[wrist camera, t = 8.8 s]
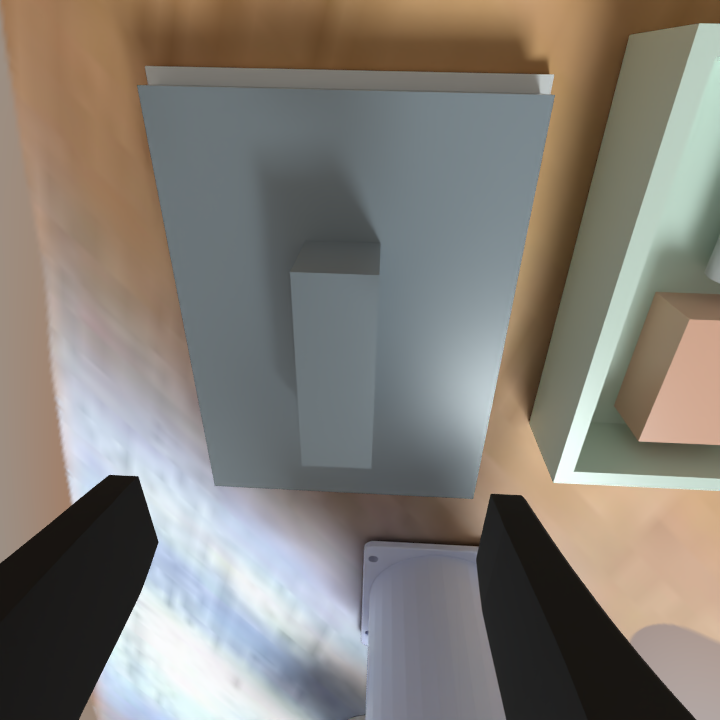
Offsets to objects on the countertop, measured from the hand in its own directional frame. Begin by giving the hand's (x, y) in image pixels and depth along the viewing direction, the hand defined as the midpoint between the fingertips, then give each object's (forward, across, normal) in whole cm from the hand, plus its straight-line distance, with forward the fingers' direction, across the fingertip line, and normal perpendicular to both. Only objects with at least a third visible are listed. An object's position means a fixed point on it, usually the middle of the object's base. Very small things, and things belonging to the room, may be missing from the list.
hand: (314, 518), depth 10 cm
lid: (+10, 0, 0) cm, 10 cm away
